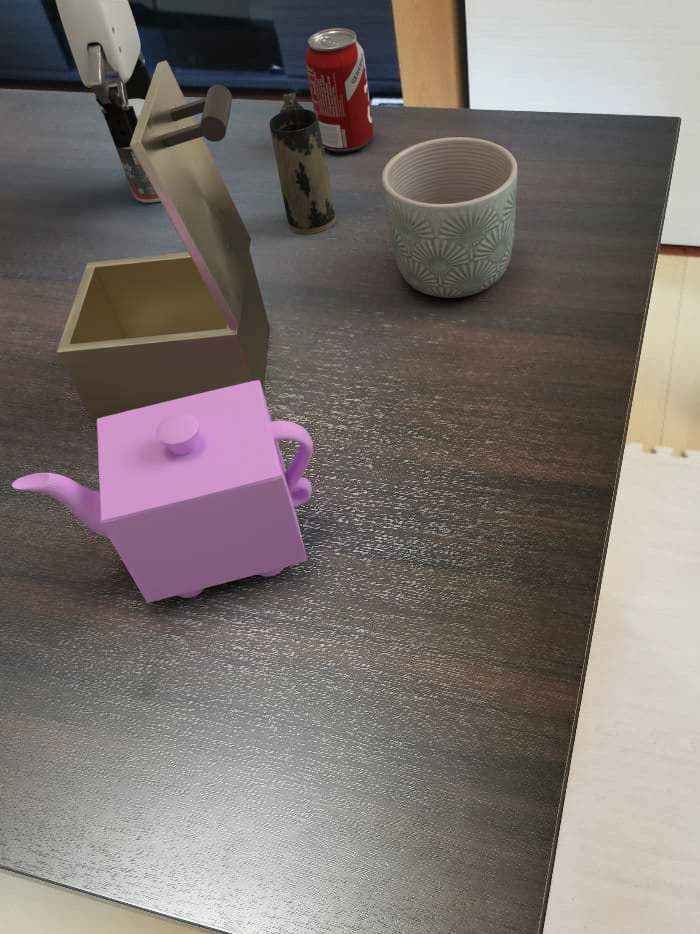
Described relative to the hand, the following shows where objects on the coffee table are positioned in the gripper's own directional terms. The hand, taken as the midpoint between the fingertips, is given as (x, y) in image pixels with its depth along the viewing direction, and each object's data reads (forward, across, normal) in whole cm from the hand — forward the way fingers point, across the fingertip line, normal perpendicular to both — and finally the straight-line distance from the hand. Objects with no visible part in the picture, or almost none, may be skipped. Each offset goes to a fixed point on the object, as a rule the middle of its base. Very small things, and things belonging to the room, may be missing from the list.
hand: (138, 124), depth 95 cm
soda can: (+8, -7, +22) cm, 25 cm away
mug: (+8, +9, +18) cm, 22 cm away
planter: (+8, +23, +34) cm, 42 cm away
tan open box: (+8, +35, +8) cm, 37 cm away
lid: (-9, +35, +13) cm, 39 cm away
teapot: (+8, +56, +12) cm, 58 cm away
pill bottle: (+8, 0, 0) cm, 8 cm away
